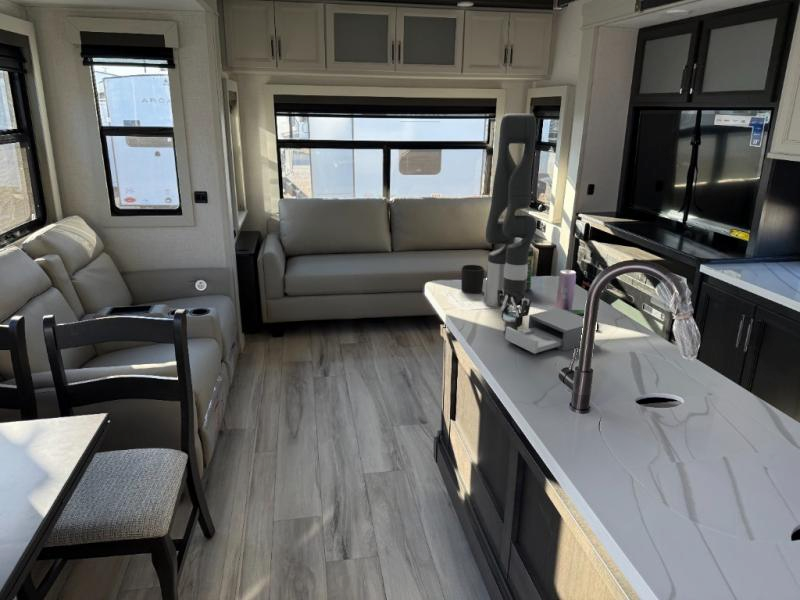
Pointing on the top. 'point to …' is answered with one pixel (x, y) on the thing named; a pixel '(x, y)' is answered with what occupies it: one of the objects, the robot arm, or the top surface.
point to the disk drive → (580, 314)
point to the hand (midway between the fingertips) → (511, 323)
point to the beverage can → (566, 289)
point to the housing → (559, 326)
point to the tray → (532, 339)
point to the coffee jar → (529, 267)
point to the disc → (509, 316)
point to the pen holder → (472, 279)
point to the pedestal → (510, 324)
